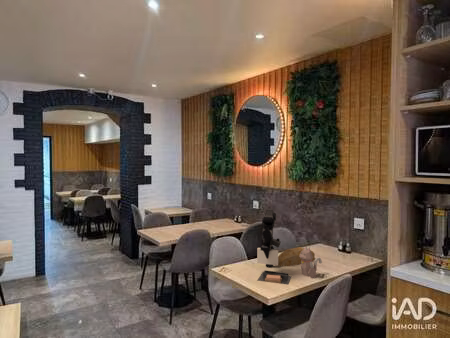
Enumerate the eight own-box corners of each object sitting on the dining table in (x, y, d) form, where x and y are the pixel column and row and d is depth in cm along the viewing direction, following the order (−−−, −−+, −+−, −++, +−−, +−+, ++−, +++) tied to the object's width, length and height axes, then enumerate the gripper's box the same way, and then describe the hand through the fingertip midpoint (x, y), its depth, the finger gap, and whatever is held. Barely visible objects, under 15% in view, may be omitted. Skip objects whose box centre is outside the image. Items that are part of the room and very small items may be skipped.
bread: (307, 257, 256) (308, 244, 256) (317, 260, 247) (318, 248, 247) (273, 263, 239) (273, 250, 238) (282, 267, 229) (282, 254, 229)
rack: (262, 273, 216) (262, 268, 216) (291, 277, 209) (291, 272, 209) (257, 282, 201) (257, 276, 200) (288, 286, 194) (288, 280, 194)
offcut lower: (266, 278, 205) (266, 276, 204) (281, 280, 201) (282, 278, 201) (264, 281, 199) (264, 279, 199) (280, 283, 196) (280, 281, 196)
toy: (296, 275, 214) (296, 246, 213) (316, 271, 222) (316, 243, 221) (305, 279, 206) (305, 249, 205) (325, 275, 214) (326, 246, 213)
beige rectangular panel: (257, 262, 216) (258, 247, 215) (278, 264, 211) (278, 249, 211) (257, 263, 214) (257, 248, 213) (277, 265, 209) (277, 250, 209)
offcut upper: (266, 276, 203) (266, 274, 203) (280, 277, 202) (280, 275, 202) (266, 279, 198) (266, 277, 198) (280, 280, 197) (280, 278, 197)
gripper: (277, 239, 200) (277, 263, 201) (282, 233, 218) (281, 255, 218) (260, 237, 204) (260, 261, 204) (266, 232, 222) (266, 253, 222)
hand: (267, 258), depth 212 cm, fingers closed on beige rectangular panel, 2 cm apart
